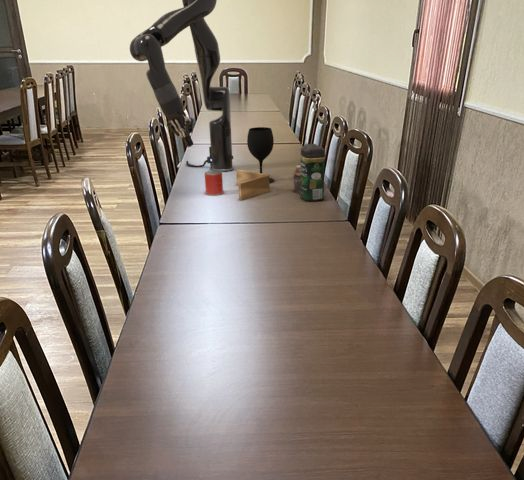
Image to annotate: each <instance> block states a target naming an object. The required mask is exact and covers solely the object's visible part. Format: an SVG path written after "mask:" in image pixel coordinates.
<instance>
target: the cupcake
mask: <svg viewBox="0 0 524 480" xmlns="http://www.w3.org/2000/svg"><path fill="white" fill-rule="evenodd" d="M292 181H293V185H294V191H295V193H296V194H300V183H301V163H298V164H297V165H295V171H294V173H293V177H292Z"/></svg>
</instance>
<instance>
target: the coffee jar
mask: <svg viewBox="0 0 524 480" xmlns="http://www.w3.org/2000/svg"><path fill="white" fill-rule="evenodd" d="M325 161H326V150H325V148H323V147H322V146H320V145H318V144H316V143H306V144H304V145H303V146H301V148H300V164H301V183H300V193H299V196H300V197H301V199H303V200H304V201H306V202H308V201H309V202H317V201H321V200H323V199H324V196H325Z"/></svg>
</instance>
